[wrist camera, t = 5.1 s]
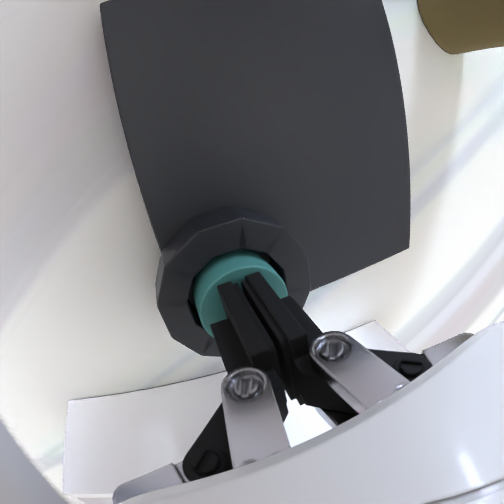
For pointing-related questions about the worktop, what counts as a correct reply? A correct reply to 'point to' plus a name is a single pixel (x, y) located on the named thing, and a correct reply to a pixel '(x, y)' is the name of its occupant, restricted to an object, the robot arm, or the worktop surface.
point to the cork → (464, 23)
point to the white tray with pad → (164, 427)
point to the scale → (261, 138)
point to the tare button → (224, 271)
